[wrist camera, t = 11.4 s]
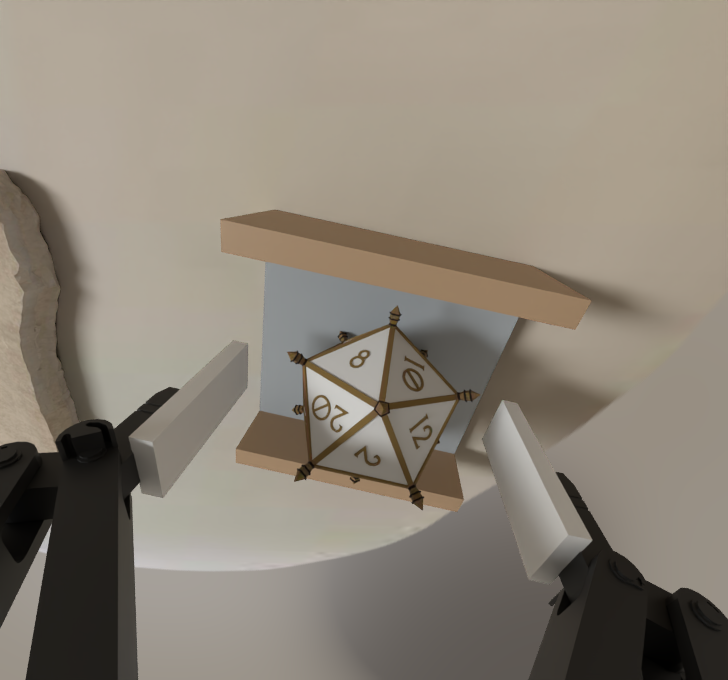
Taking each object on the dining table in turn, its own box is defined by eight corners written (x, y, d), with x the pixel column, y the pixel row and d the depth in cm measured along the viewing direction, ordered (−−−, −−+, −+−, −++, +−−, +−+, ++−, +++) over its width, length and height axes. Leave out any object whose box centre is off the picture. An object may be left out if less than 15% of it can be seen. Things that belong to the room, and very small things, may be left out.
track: (275, 209, 16) (220, 219, 11) (532, 266, 16) (591, 300, 11) (264, 414, 23) (227, 476, 18) (447, 454, 23) (460, 528, 18)
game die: (361, 351, 22) (243, 445, 17) (382, 251, 16) (204, 350, 10) (464, 432, 19) (362, 582, 14) (542, 348, 13) (411, 564, 7)
